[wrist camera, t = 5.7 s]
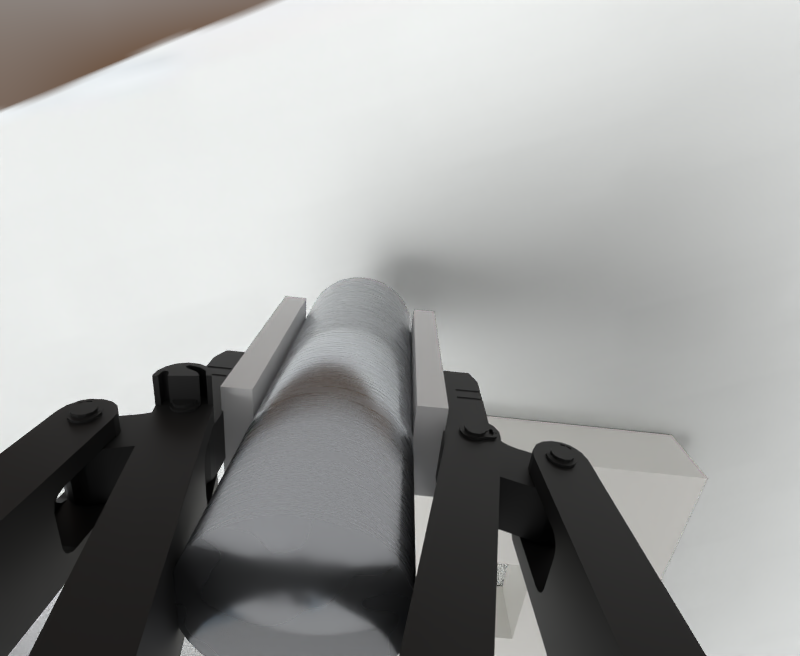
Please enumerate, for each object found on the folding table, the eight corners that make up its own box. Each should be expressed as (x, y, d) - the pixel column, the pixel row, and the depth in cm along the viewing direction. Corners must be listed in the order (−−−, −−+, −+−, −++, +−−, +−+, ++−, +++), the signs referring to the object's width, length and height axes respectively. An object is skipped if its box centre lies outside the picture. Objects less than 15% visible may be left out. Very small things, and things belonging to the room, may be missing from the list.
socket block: (303, 636, 34) (291, 690, 31) (311, 397, 26) (297, 436, 23) (579, 663, 34) (597, 718, 31) (671, 434, 26) (707, 478, 23)
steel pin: (308, 366, 19) (178, 678, 8) (311, 272, 18) (157, 504, 7) (405, 375, 20) (402, 697, 9) (416, 283, 18) (431, 529, 7)
